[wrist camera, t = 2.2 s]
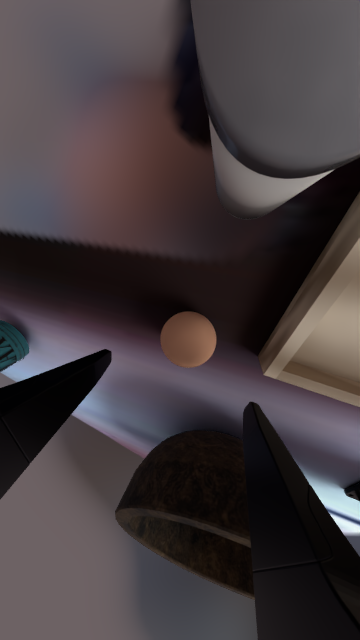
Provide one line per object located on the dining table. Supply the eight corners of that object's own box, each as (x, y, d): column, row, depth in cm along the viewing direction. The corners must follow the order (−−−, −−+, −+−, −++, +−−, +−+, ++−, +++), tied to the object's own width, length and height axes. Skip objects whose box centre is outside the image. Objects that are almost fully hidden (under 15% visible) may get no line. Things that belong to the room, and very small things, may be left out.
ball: (208, 351, 16) (204, 388, 12) (166, 337, 17) (148, 368, 13) (224, 312, 14) (225, 341, 10) (174, 297, 15) (156, 318, 10)
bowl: (275, 383, 16) (337, 546, 7) (316, 490, 22) (377, 645, 14) (127, 406, 25) (76, 493, 16) (187, 478, 31) (173, 569, 22)
